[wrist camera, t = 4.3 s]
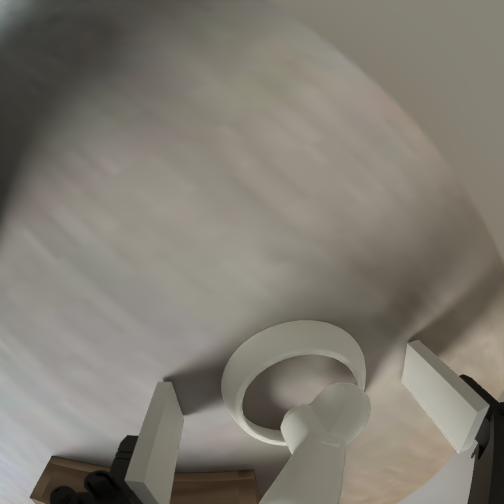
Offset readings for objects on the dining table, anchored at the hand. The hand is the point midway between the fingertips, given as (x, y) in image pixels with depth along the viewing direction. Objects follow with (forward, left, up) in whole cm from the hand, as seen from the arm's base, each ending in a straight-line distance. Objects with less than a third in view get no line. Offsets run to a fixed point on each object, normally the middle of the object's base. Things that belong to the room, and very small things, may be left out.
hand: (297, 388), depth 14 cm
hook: (0, 0, -1) cm, 1 cm away
